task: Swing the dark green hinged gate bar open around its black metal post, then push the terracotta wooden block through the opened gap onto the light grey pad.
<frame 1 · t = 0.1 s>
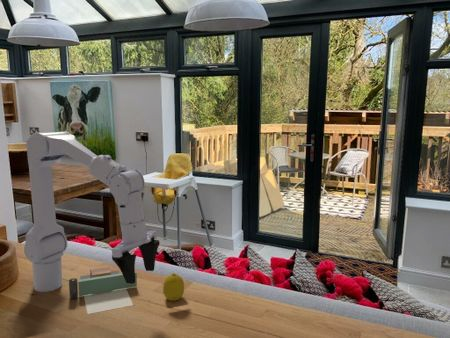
hand: (140, 276, 91), 11 cm above the table, tool pointing down, fingers open, 7 cm apart
lemon: (173, 302, 100), on the table
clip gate: (108, 283, 102), point 3 cm above the table, hinge at 0.0°
block: (100, 283, 107), point 1 cm above the table, touching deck
gate post: (73, 301, 99), on the table
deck: (104, 292, 104), on the table
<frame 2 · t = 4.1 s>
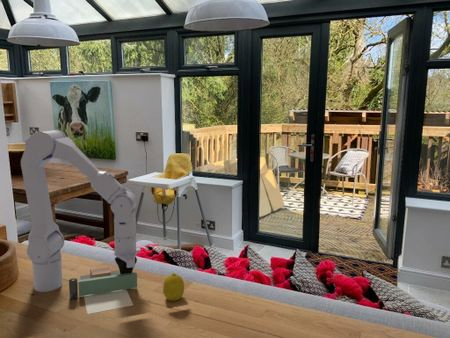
hand: (126, 282, 105), 2 cm above the table, tool pointing down, fingers closed
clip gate: (108, 283, 101), point 3 cm above the table, hinge at 2.8°, touching gripper
everything else where it was.
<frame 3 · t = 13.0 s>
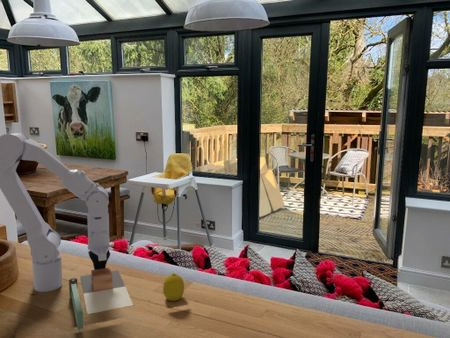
hand: (99, 275, 109), 3 cm above the table, tool pointing down, fingers closed
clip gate: (76, 304, 90), point 3 cm above the table, hinge at 88.4°
block: (101, 285, 105), point 1 cm above the table, touching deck, gripper
everything else where it was.
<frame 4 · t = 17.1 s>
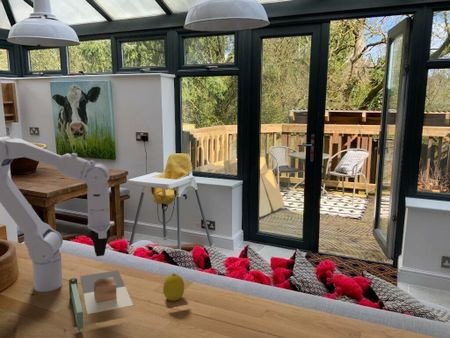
hand: (100, 255, 106), 9 cm above the table, tool pointing down, fingers closed
block: (105, 296, 100), point 1 cm above the table, touching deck
everything else where it was.
at the end: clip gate at +88° (first picture: +0°); block inside the target area (2.2 cm from its centre), point 1.0 cm above the table; block moved 8.3 cm from its start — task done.
